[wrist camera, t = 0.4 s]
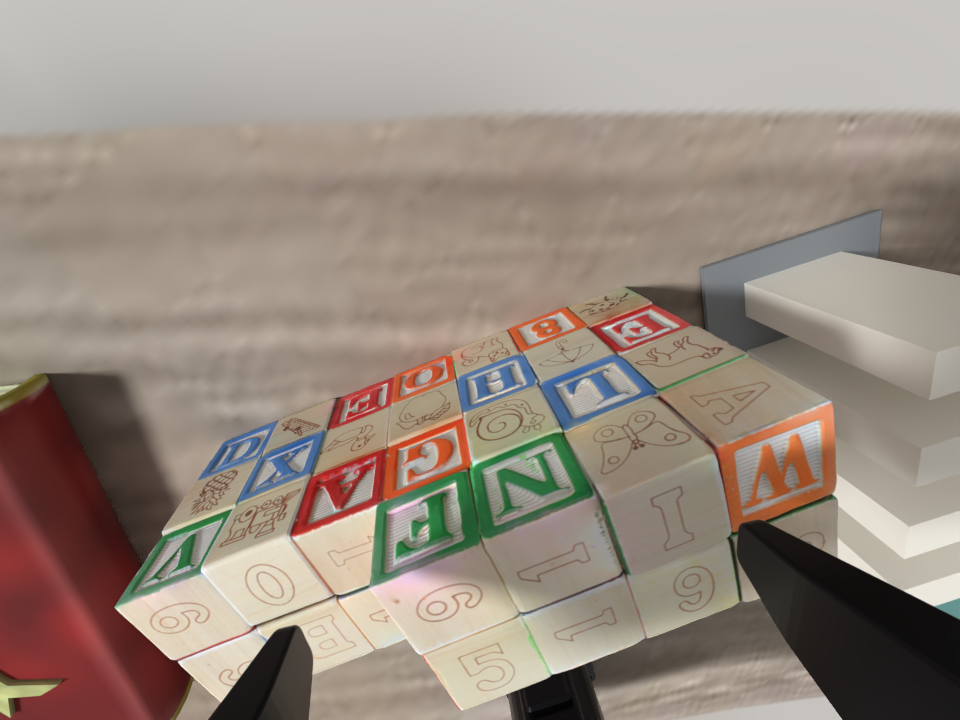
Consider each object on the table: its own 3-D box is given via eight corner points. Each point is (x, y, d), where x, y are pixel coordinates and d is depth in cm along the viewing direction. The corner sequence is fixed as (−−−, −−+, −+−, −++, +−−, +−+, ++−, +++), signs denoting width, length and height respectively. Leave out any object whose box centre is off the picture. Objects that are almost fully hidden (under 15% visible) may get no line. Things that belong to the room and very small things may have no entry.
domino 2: (835, 350, 24) (1047, 444, 16) (748, 379, 24) (915, 487, 16) (837, 320, 24) (1059, 403, 15) (747, 350, 24) (921, 448, 15)
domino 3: (832, 408, 26) (1024, 520, 18) (750, 434, 26) (904, 559, 18) (834, 381, 25) (1034, 486, 17) (749, 409, 25) (909, 526, 17)
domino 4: (830, 458, 28) (1005, 583, 19) (752, 484, 28) (894, 619, 19) (831, 435, 27) (1014, 554, 19) (751, 461, 27) (899, 592, 19)
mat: (852, 509, 30) (855, 512, 30) (723, 551, 30) (726, 554, 30) (876, 209, 22) (882, 209, 21) (699, 267, 22) (703, 268, 22)
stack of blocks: (287, 525, 25) (181, 820, 14) (222, 439, 22) (26, 714, 11) (650, 387, 24) (848, 575, 13) (626, 281, 22) (848, 404, 11)
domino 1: (839, 285, 23) (1075, 352, 15) (745, 316, 23) (929, 400, 15) (841, 251, 22) (1091, 302, 14) (744, 283, 22) (937, 352, 14)
